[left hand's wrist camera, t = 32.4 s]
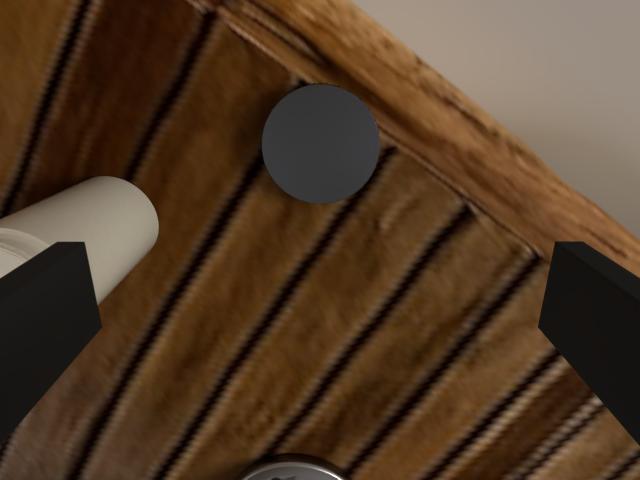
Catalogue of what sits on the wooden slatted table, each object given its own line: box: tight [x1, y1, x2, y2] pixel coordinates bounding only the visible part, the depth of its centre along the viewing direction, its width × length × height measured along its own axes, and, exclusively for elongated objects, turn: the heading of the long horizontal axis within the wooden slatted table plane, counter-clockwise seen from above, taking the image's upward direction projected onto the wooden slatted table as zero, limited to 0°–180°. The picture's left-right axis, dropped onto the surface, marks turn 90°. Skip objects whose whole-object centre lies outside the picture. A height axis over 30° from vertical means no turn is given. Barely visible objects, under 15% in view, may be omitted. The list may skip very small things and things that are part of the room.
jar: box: [0, 176, 159, 305], centre depth 32 cm, size 8×8×15 cm
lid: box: [261, 83, 380, 204], centre depth 35 cm, size 9×9×2 cm
